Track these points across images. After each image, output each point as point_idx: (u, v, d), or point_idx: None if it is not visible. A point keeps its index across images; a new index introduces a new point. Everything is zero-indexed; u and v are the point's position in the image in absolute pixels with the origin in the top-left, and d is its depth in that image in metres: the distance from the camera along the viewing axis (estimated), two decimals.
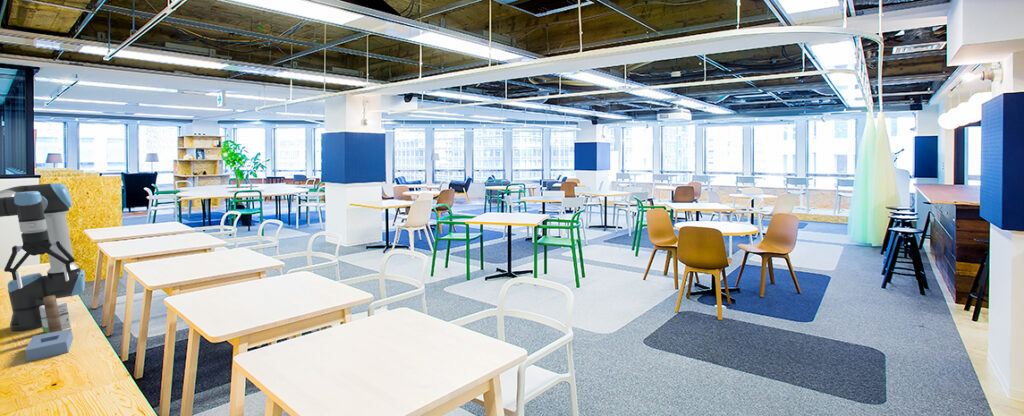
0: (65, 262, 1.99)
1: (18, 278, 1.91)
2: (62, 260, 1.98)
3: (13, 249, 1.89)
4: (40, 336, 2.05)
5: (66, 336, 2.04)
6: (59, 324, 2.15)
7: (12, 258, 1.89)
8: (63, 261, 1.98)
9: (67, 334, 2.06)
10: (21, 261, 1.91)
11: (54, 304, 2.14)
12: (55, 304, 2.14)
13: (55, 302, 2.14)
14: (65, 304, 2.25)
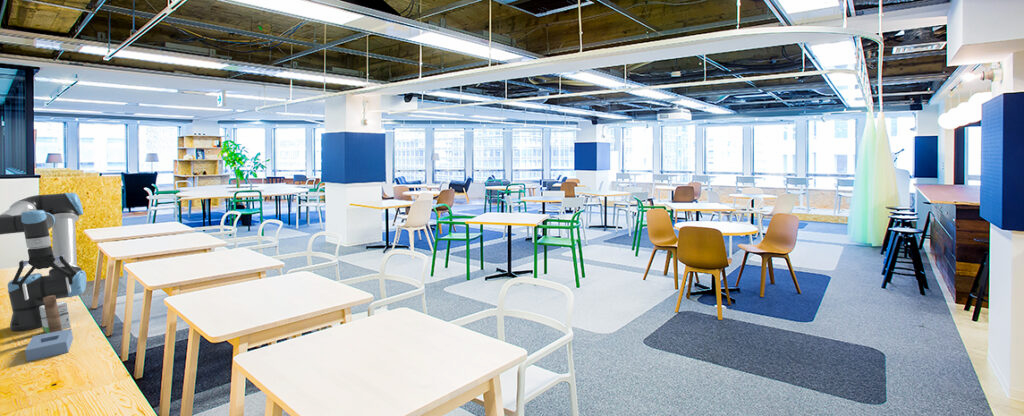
0: (68, 275, 2.15)
1: (24, 290, 2.07)
2: (65, 273, 2.15)
3: (20, 264, 2.06)
4: (40, 336, 2.05)
5: (66, 336, 2.04)
6: (59, 324, 2.15)
7: (19, 272, 2.06)
8: (66, 274, 2.15)
9: (67, 334, 2.06)
10: (27, 275, 2.08)
11: (54, 304, 2.14)
12: (55, 304, 2.14)
13: (55, 302, 2.14)
14: (65, 304, 2.25)
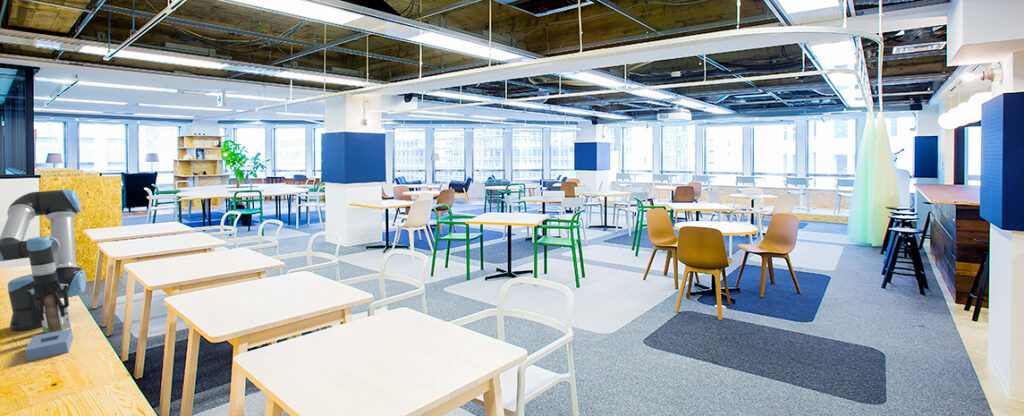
0: (60, 307, 2.15)
1: (45, 318, 2.12)
2: (59, 304, 2.15)
3: (28, 294, 2.08)
4: (40, 336, 2.05)
5: (66, 336, 2.04)
6: (59, 324, 2.15)
7: (32, 301, 2.09)
8: (59, 306, 2.15)
9: (67, 334, 2.06)
10: (42, 302, 2.11)
11: (54, 304, 2.14)
12: (55, 304, 2.14)
13: (55, 302, 2.14)
14: None
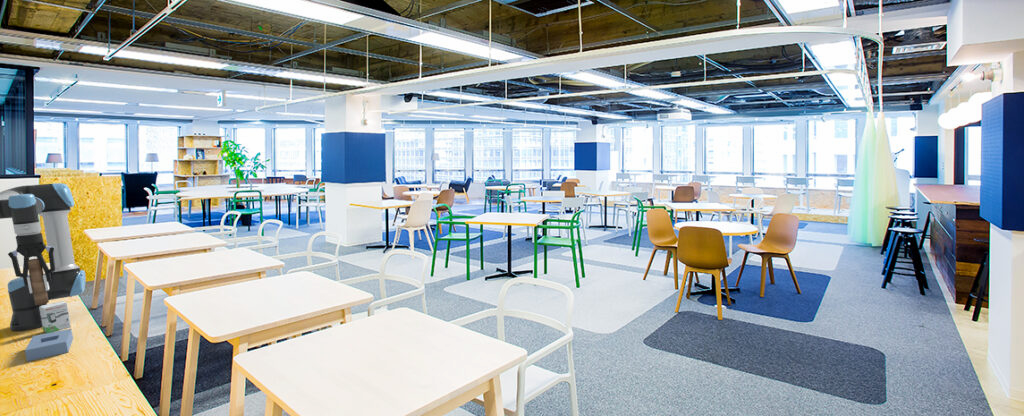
0: (46, 271, 1.98)
1: (29, 283, 1.96)
2: (45, 268, 1.98)
3: (10, 255, 1.92)
4: (40, 336, 2.05)
5: (66, 336, 2.04)
6: (44, 289, 1.99)
7: (15, 263, 1.93)
8: (45, 269, 1.98)
9: (67, 334, 2.06)
10: (25, 265, 1.95)
11: (39, 267, 1.97)
12: (40, 267, 1.97)
13: (40, 265, 1.98)
14: (65, 304, 2.25)
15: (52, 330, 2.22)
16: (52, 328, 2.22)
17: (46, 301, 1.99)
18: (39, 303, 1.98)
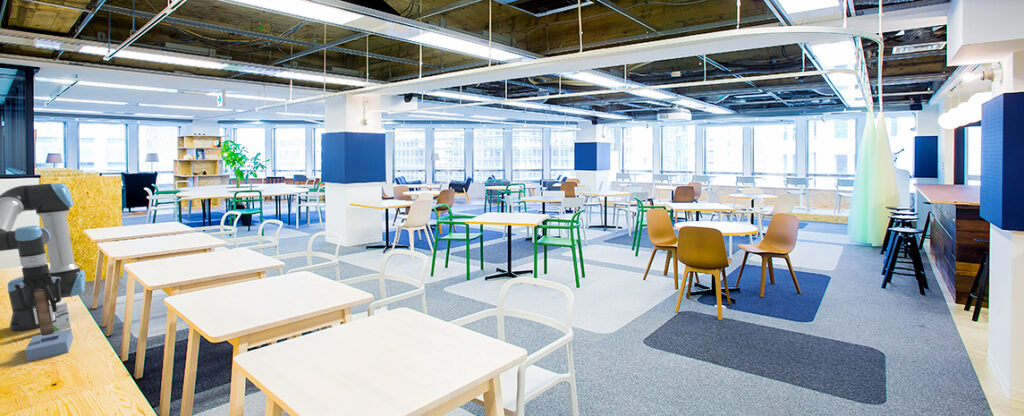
0: (52, 302, 2.00)
1: (35, 314, 1.98)
2: (50, 299, 2.00)
3: (16, 287, 1.94)
4: (40, 336, 2.05)
5: (66, 336, 2.04)
6: (50, 320, 2.01)
7: (21, 295, 1.95)
8: (51, 300, 2.00)
9: (67, 334, 2.06)
10: (31, 296, 1.97)
11: (45, 298, 1.99)
12: (46, 298, 1.99)
13: (46, 296, 1.99)
14: (65, 304, 2.25)
15: None
16: None
17: (52, 331, 2.01)
18: (45, 334, 1.99)
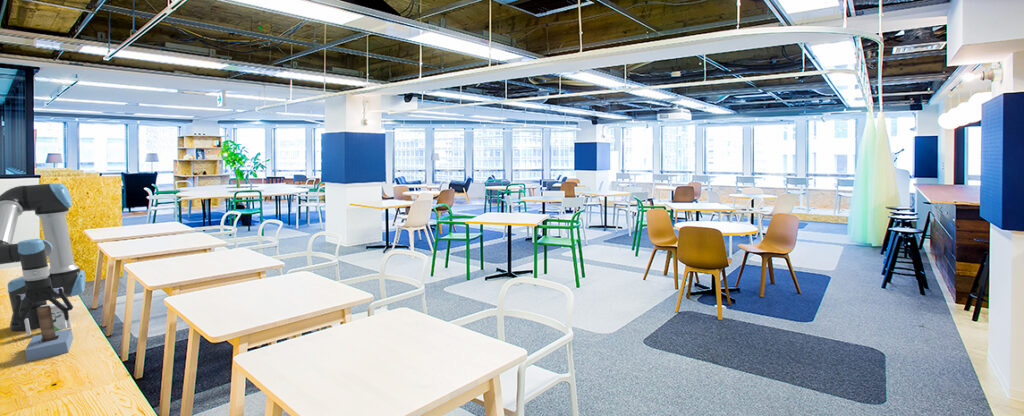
0: (63, 310, 2.03)
1: (27, 326, 1.97)
2: (61, 308, 2.02)
3: (17, 298, 1.94)
4: (40, 336, 2.05)
5: (66, 336, 2.04)
6: (54, 336, 2.02)
7: (18, 306, 1.95)
8: (62, 309, 2.02)
9: (67, 334, 2.06)
10: (27, 309, 1.96)
11: (49, 314, 2.00)
12: (50, 315, 2.00)
13: (50, 312, 2.01)
14: (65, 304, 2.25)
15: None
16: None
17: None
18: None
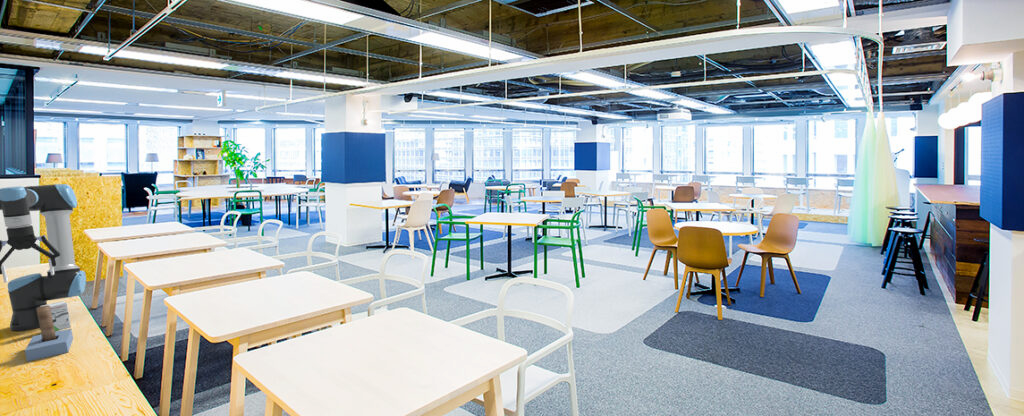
0: (50, 256, 2.02)
1: (4, 272, 1.94)
2: (47, 254, 2.01)
3: None
4: (40, 336, 2.05)
5: (66, 336, 2.04)
6: (54, 336, 2.02)
7: None
8: (48, 255, 2.01)
9: (67, 334, 2.06)
10: (6, 255, 1.94)
11: (49, 314, 2.00)
12: (49, 315, 2.00)
13: (49, 312, 2.00)
14: (65, 304, 2.25)
15: None
16: None
17: None
18: None
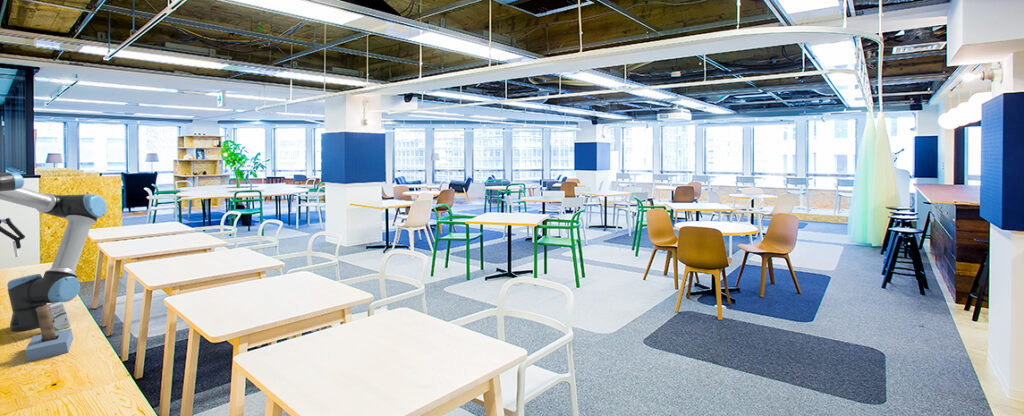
0: (15, 239, 2.06)
1: None
2: (12, 237, 2.05)
3: None
4: (40, 336, 2.05)
5: (66, 336, 2.04)
6: (54, 336, 2.02)
7: None
8: (13, 238, 2.06)
9: (67, 334, 2.06)
10: None
11: (49, 314, 2.00)
12: (49, 315, 2.00)
13: (49, 313, 2.00)
14: (61, 304, 2.24)
15: None
16: None
17: None
18: None
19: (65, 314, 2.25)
